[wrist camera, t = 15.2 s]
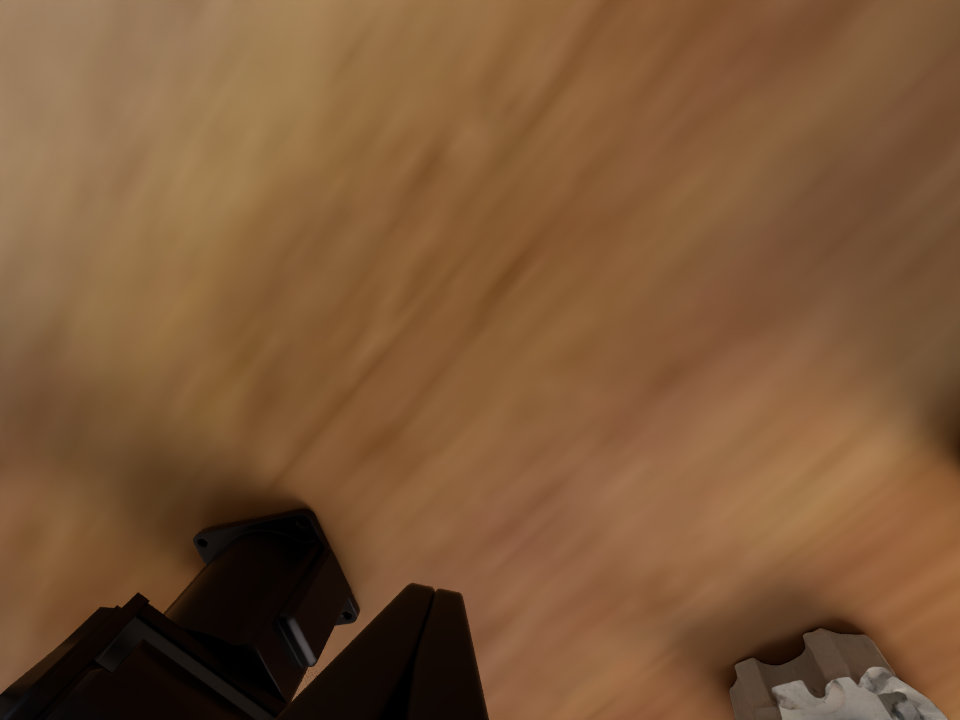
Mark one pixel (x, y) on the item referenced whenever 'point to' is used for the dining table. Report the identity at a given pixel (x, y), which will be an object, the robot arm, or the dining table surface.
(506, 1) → the dining table surface
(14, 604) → the dining table surface
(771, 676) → the egg carton
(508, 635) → the dining table surface
